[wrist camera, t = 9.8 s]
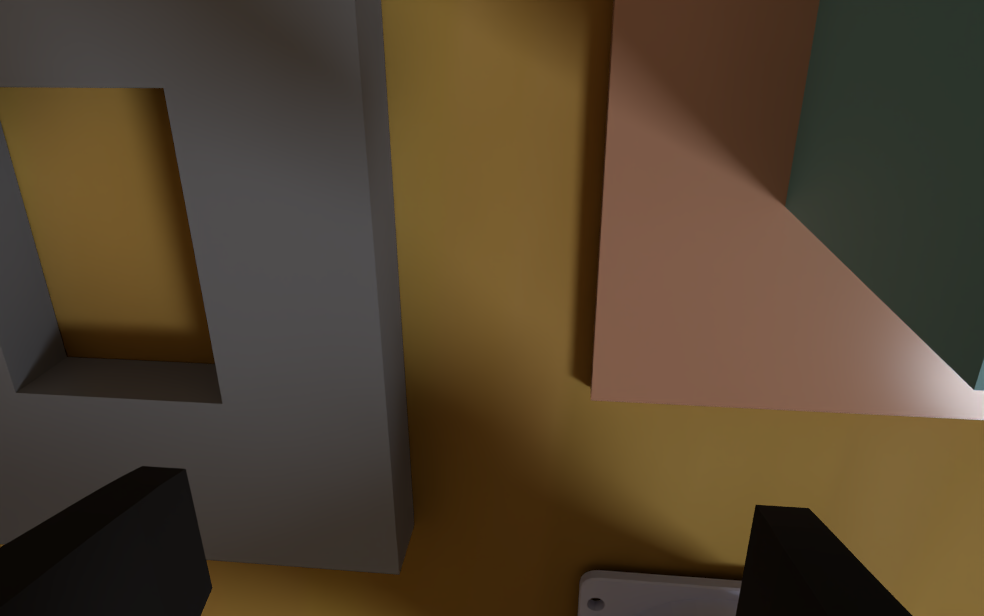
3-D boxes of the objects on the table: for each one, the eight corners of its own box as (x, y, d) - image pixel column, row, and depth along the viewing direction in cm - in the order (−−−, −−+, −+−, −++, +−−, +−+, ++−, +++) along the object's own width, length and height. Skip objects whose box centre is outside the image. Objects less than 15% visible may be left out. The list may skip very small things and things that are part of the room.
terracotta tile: (1078, 412, 17) (1095, 425, 17) (590, 388, 18) (590, 400, 18) (1421, -468, 11) (1465, -493, 10) (638, -417, 12) (641, -437, 12)
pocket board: (414, 524, 21) (399, 574, 19) (-15, 495, 22) (-67, 538, 21) (368, -198, 14) (336, -228, 12) (-262, -175, 15) (-377, -200, 13)
